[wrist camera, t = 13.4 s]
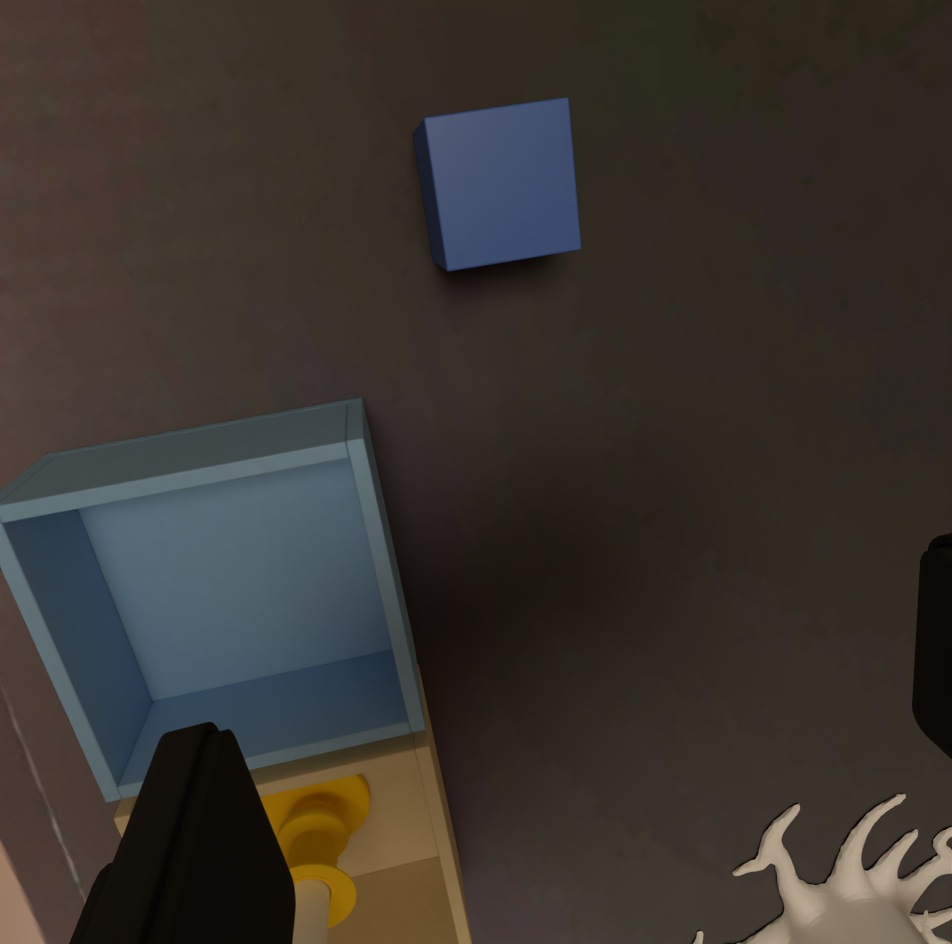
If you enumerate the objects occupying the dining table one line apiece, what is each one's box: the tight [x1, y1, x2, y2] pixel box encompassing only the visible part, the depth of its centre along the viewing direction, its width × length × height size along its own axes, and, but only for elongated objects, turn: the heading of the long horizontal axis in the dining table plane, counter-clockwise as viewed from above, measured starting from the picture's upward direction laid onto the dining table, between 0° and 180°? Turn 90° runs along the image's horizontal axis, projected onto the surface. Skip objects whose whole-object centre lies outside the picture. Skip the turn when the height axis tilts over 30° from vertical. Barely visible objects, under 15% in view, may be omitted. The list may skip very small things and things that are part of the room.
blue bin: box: [0, 397, 426, 802], centre depth 27 cm, size 12×12×6 cm
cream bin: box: [114, 664, 472, 944], centre depth 32 cm, size 12×12×6 cm
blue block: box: [413, 97, 581, 271], centre depth 24 cm, size 4×4×4 cm
